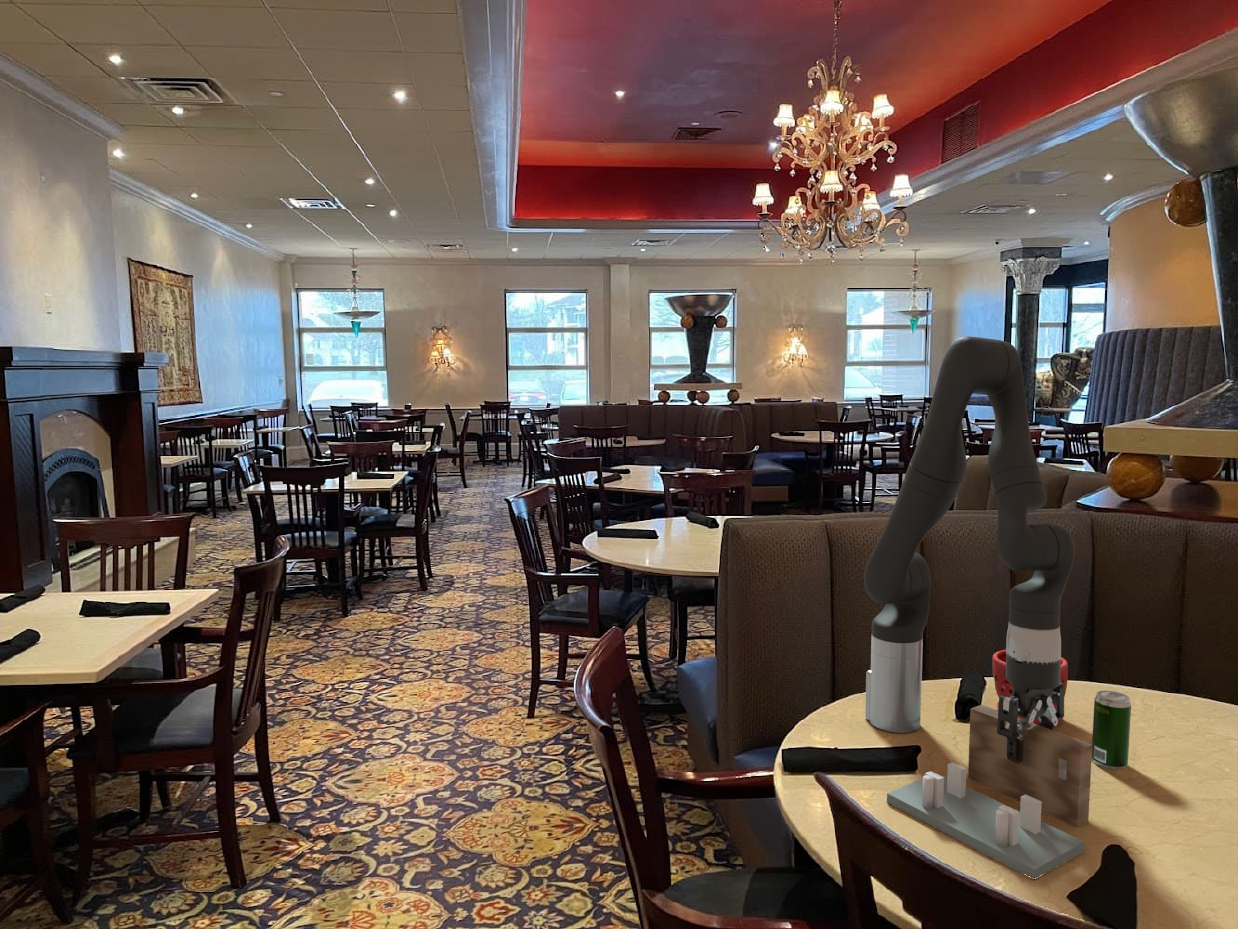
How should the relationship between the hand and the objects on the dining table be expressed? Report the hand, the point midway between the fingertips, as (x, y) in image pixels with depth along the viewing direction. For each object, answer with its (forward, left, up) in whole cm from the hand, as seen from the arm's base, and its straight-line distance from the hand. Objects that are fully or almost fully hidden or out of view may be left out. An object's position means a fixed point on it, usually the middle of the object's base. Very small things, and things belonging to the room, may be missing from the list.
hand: (1030, 754), depth 129 cm
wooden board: (0, 0, -7) cm, 7 cm away
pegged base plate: (+1, -13, -7) cm, 15 cm away
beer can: (+1, +23, -8) cm, 24 cm away
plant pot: (-18, +30, -8) cm, 36 cm away
